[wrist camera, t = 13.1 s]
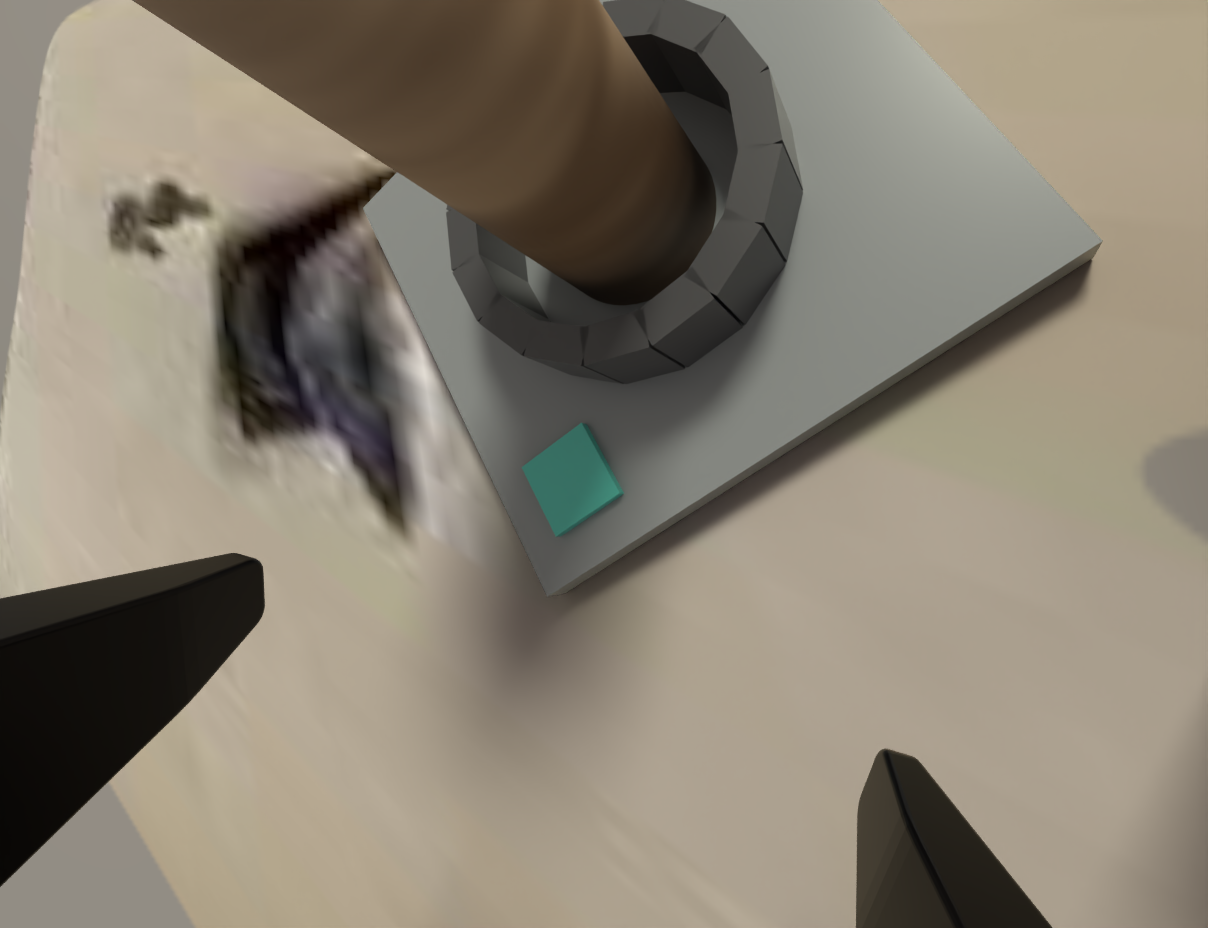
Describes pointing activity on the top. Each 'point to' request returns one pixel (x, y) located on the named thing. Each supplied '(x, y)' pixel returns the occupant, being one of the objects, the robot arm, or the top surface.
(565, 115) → the plug
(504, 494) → the socket
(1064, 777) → the top surface
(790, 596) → the top surface
